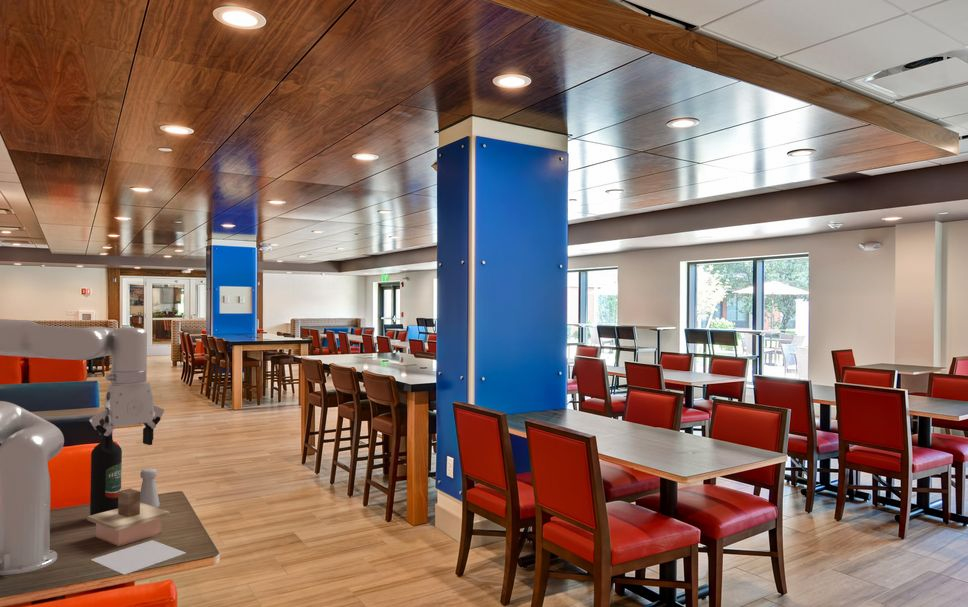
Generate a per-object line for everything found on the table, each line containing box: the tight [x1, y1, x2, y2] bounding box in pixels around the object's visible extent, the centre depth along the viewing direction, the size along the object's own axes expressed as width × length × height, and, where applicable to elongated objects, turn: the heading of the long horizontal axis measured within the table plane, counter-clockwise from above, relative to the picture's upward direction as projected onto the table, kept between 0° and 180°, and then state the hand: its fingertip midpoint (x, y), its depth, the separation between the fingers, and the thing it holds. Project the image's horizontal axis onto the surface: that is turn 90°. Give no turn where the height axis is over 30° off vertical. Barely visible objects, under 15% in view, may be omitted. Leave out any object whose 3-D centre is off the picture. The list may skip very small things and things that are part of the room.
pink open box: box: [95, 518, 162, 547], centre depth 164 cm, size 11×11×5 cm
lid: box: [86, 488, 171, 531], centre depth 164 cm, size 14×14×7 cm
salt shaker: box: [139, 467, 161, 508], centre depth 182 cm, size 6×6×13 cm
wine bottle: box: [89, 418, 123, 516], centre depth 178 cm, size 8×8×30 cm
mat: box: [90, 539, 187, 576], centre depth 150 cm, size 15×15×1 cm
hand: (127, 447), depth 152 cm, fingers open, 9 cm apart
